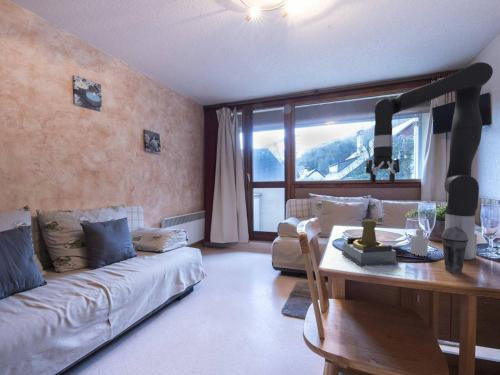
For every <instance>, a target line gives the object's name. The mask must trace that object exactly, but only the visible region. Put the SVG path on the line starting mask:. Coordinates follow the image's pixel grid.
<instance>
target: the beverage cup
mask: <svg viewBox="0 0 500 375" xmlns="http://www.w3.org/2000/svg"><path fill="white" fill-rule="evenodd" d="M440 237H441V242H442V247H443V249H442V250H443V262H444V270H445V271H446V272H448V273H451V274H458V275H459V274H462V273H463V269H464V264H465V263H464V261H465V260H464V256H465V250H466V246H467V242H468V237H467V234H466V233H465V232H464V231H463V230H462V229H460V228H458V227H454V215H452V227H449V228H447V229H446V230H445V229H444V230H443V232H442V234H441V236H440Z"/></svg>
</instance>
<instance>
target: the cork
mask: <svg viewBox="0 0 500 375" xmlns="http://www.w3.org/2000/svg"><path fill="white" fill-rule="evenodd" d="M361 225H362V227H363V228H362V235H361V237H362V240H361V245H366V246H377V243H376V241H377V236H376V230H375V229H376V226H377V222H376V221H375V220H374V219H370V218H368V219H363V220H362V221H361Z"/></svg>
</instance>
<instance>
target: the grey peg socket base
mask: <svg viewBox="0 0 500 375" xmlns="http://www.w3.org/2000/svg"><path fill="white" fill-rule="evenodd" d="M346 239H347V240H346V241H344V242H343V251H341V254H342V255H344V256H345V257H346V258H348V259H350V261H353V263H355V265H358V266H359V267H372V266H373V267H374V266H390V265H398V264H399V262H398V261H397V251H396V250H395V249H393V246H392V245H391V244H385V245H384V243H383V242H381V241H379V240H376V243H377V246H366V245H361V240H362V236H360V237H359V236H357V237H347V238H346Z"/></svg>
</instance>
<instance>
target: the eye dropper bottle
mask: <svg viewBox="0 0 500 375" xmlns="http://www.w3.org/2000/svg"><path fill="white" fill-rule="evenodd" d="M410 239H411V240H410V253H411V255H414V254H415V255H414V256H418V255H419V257H424V256H425V257H427V256H428V248H429V247H428V245H429V244H428V243H429V242H428V237H427V236H426V235H424V230H423V229H422V228H421V226H418V228H416V229H415V234H412V235H411V237H410Z"/></svg>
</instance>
